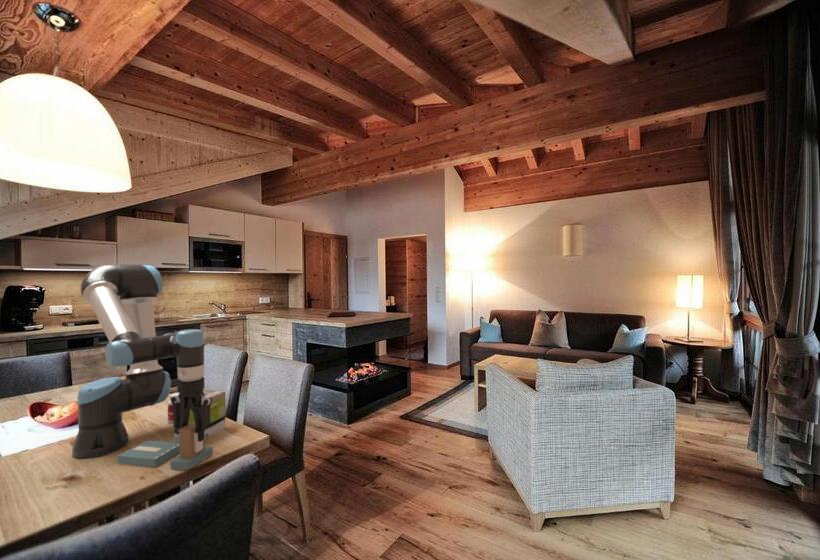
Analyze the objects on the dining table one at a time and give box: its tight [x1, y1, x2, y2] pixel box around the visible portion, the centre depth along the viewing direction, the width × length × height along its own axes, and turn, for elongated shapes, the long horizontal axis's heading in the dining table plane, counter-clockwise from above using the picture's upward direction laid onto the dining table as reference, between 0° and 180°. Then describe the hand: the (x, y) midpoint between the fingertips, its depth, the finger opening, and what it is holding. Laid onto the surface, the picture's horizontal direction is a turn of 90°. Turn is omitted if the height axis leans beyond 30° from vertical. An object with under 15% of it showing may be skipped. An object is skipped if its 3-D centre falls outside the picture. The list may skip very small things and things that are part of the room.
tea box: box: [173, 389, 226, 443], centre depth 138 cm, size 15×10×15 cm
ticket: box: [116, 439, 180, 468], centre depth 122 cm, size 14×11×3 cm
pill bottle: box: [167, 392, 179, 424], centre depth 152 cm, size 6×6×11 cm
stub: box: [169, 422, 214, 471], centre depth 119 cm, size 6×11×11 cm, turn 169°
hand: (192, 449), depth 119 cm, fingers closed on stub, 4 cm apart
